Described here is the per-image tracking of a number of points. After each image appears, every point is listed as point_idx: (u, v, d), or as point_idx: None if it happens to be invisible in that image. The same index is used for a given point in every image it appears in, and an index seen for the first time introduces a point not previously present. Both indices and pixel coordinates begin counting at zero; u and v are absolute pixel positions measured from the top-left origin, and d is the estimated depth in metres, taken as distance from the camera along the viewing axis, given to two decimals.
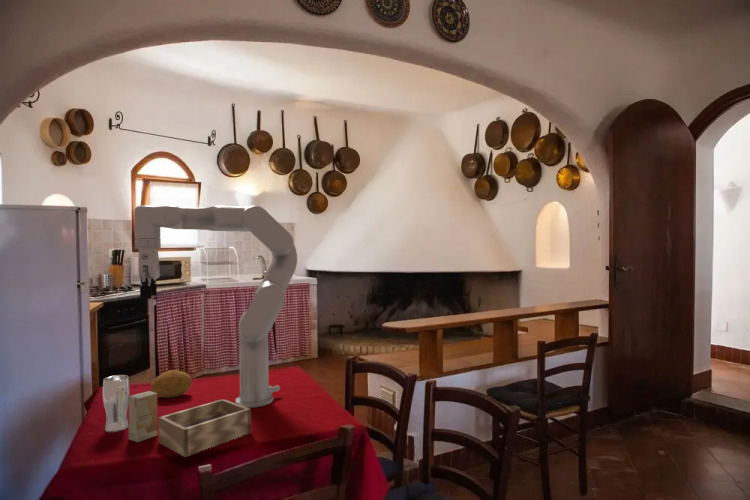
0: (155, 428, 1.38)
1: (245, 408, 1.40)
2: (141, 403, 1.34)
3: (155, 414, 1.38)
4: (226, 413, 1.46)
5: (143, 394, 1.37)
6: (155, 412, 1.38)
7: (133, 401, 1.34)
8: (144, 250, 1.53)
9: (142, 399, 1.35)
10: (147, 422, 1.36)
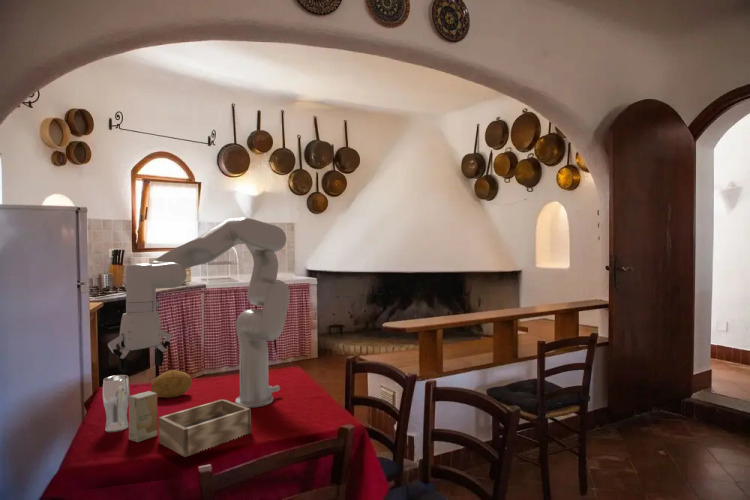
0: (155, 428, 1.38)
1: (245, 408, 1.40)
2: (141, 403, 1.34)
3: (155, 414, 1.38)
4: (226, 413, 1.46)
5: (143, 394, 1.37)
6: (155, 412, 1.38)
7: (133, 401, 1.34)
8: None
9: (142, 399, 1.35)
10: (147, 422, 1.36)
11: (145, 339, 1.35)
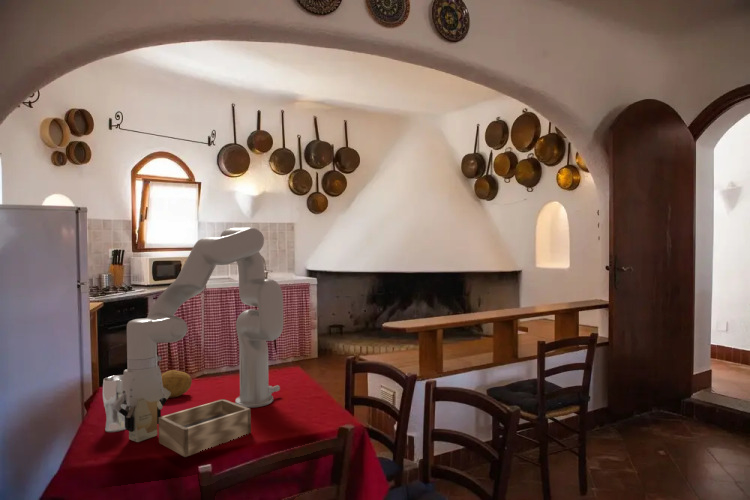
0: (155, 428, 1.38)
1: (245, 408, 1.40)
2: (141, 403, 1.34)
3: (155, 414, 1.38)
4: (226, 413, 1.46)
5: None
6: (155, 411, 1.38)
7: None
8: None
9: (142, 399, 1.35)
10: (147, 422, 1.36)
11: (146, 396, 1.35)
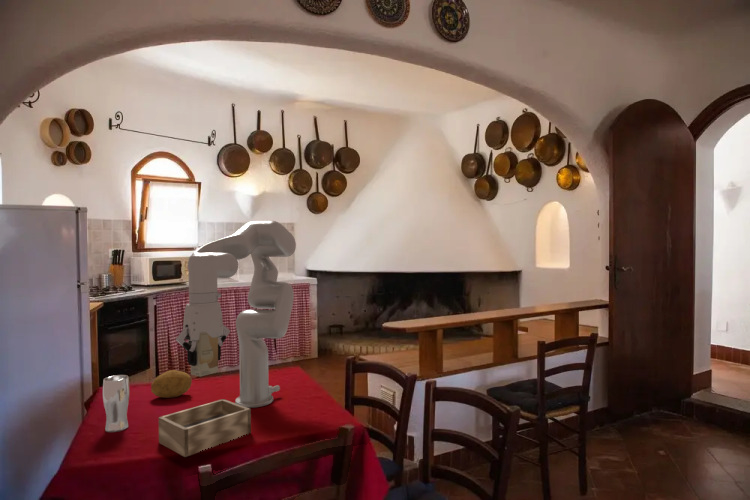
0: (216, 364, 1.37)
1: (245, 408, 1.40)
2: (203, 337, 1.33)
3: (216, 350, 1.37)
4: (226, 413, 1.46)
5: None
6: (216, 348, 1.37)
7: None
8: None
9: (204, 333, 1.34)
10: (209, 357, 1.35)
11: (208, 330, 1.35)
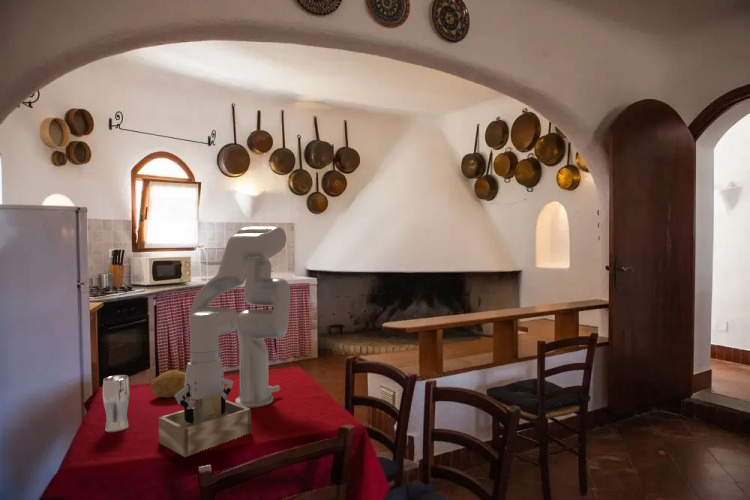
0: None
1: (245, 408, 1.40)
2: (206, 403, 1.34)
3: (219, 414, 1.38)
4: (226, 413, 1.46)
5: None
6: (219, 411, 1.38)
7: (199, 400, 1.34)
8: None
9: (207, 399, 1.34)
10: None
11: (209, 389, 1.35)
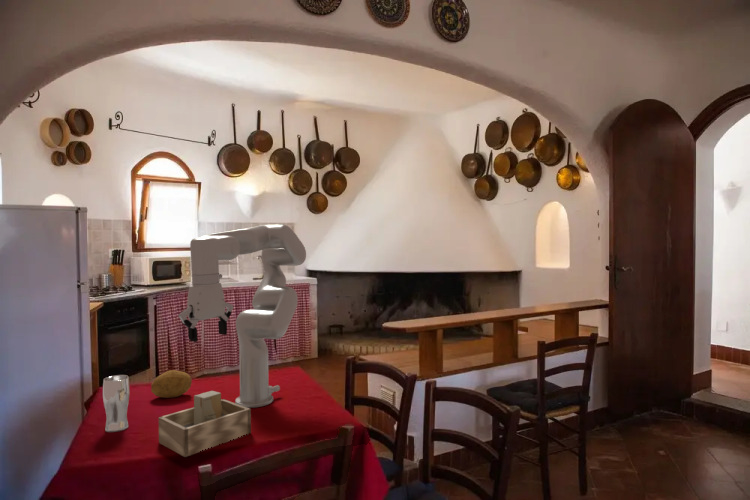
0: None
1: (245, 408, 1.40)
2: (206, 403, 1.34)
3: (219, 414, 1.38)
4: (226, 413, 1.46)
5: (207, 394, 1.37)
6: (219, 411, 1.38)
7: (199, 400, 1.34)
8: None
9: (207, 399, 1.34)
10: None
11: (211, 310, 1.42)
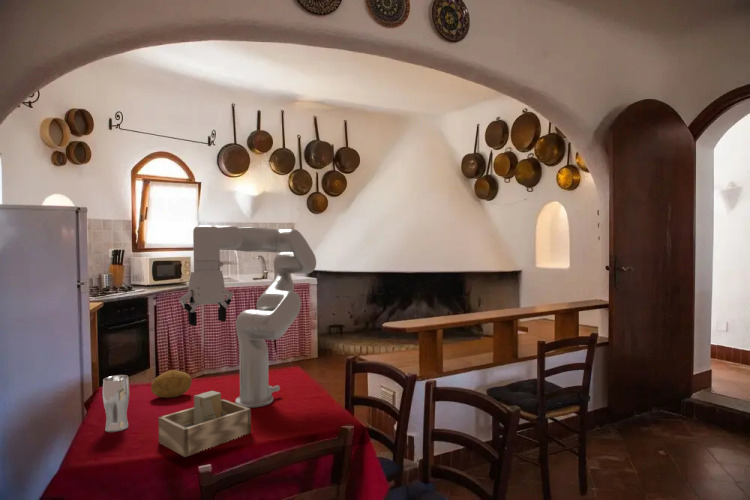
0: None
1: (245, 408, 1.40)
2: (206, 403, 1.34)
3: (219, 414, 1.38)
4: (226, 413, 1.46)
5: (207, 394, 1.37)
6: (219, 411, 1.38)
7: (199, 400, 1.34)
8: None
9: (207, 399, 1.34)
10: None
11: (211, 296, 1.46)
